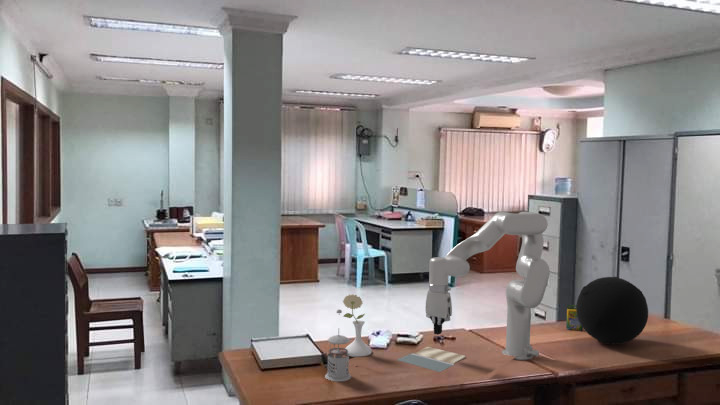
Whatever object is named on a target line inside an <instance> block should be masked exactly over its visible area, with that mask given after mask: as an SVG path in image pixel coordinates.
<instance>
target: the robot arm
mask: <svg viewBox="0 0 720 405" xmlns="http://www.w3.org/2000/svg"><path fill="white" fill-rule="evenodd" d="M548 225H549V223H548V219H547V218H546V216H545V215H543V214H541V213H538V212H531V211H521V212H519V213H518V212H517V213H514V212H513V213H511V212H506V211H498V212H496V213H494V215H493V216H491V217H490V218H489V219H488V220H487V221H486V222H485V223H484V224H483V225H482V226H481V227H480V228H479V229H478V230H477V231H476V232H475V233H473V235H471V236H469V237H467V238H466V239H465V240H463V241H460V243H458V244H456V246H454V247H453V248H452V249H451V250H450V251H449V252H448V253H447V254H446V255H445V256H444V257H441V256H439V257H438V256H437V257H435V256H434V257H431V258H430V259H429V273H428V274H429V275H428V278H429V279H428V280H429V281H428V285H429V286H428V291H427V293H426V299H425V317H426V318H428V319H430V321H431V323H432V325H433V334H434V335H438V336H439V335H441V334H442V332H443V324H444V323H447V322H450V321H451V316H453V315H452V314H453V306H452V305H453V304H452V297H451V293H450V292H451V290H452V288H451V287H450V286H449V277H458V278H460V277H464V276H466V275H468V273H469V272H470V268H471V267H470V263H469V262H468V259H469V258H471V257H472V256H475V255H477V254H480V253H483V252H484V253H485V252H486V251H489V250H491V248H493V247H494V245H495V244H496V243H498V241H499V240H500V239H502V237H503V236H504V235H510V236H521V238H522V243H521V247H520V251H519V254H518V258H517V259H516V260H517V261H516V265H515V271H516V273H517V274H518V275H519V276H521V277H522V278H524V280H523V279H513V280H511V281H509V283H508V284H507V285H506V289H505V297H506V310H507V311H506V312H507V313H506V334H505V335H506V336H505V337H506V339H505V349H503V350H501V354H503V355H506V356H511V357H514V358H513V360H516V361H517V360H518V361H527V360H528V361H529V360H531V359H533V358H534V357H539V355H540V351H539V350H538V349H533V345H531V323H532V322H531V321H532V320H531V319H532V313H531V312H532V310H531V309H534V308H537V307H539V305H540V304H541V302H542V301H543V299H544V295H545V292H546V289H547V286H548V281H549V278H550V274H551V273H550V266H549V264H548V262H547V261H546V260H545V259H543V258H542V255H543V250H544V244H545V243H544V242H545V241H544V236H543V233H545V232H546V231H547V229H548Z"/></svg>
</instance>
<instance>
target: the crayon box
mask: <svg viewBox="0 0 720 405" xmlns="http://www.w3.org/2000/svg"><path fill="white" fill-rule="evenodd" d="M566 307H567V308H566V327H565V328H566V330H568V331H569V330H570V331H571V330H572V331H583V330H584V329H583V327H582V326H581V324H580V322H579V320H578V317H577V312H576V305H573V304H567V306H566Z"/></svg>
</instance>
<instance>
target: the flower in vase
mask: <svg viewBox="0 0 720 405" xmlns="http://www.w3.org/2000/svg"><path fill="white" fill-rule="evenodd" d="M342 302H343V305H344V307H346V308H347V309H351V313H352V314H351V313H349V312H346V313H345V314H344V315H343V316H342V317H343V318H347V319H351V318H352V317H353V318H354V319H355V320H353V321H352V324H353V326H354V329H355V338H354V340H353V341H352V342H351V343H348V345H347V346H346V347H345V349H347V350H348V352H347V353H348V354H349V357H352V358H357V357H367V356H369V355H372V352H373V350H372V348H371V347H370V346H369V345H368V344H366V342H364V340H362V329H363V326H364V324H365V321H363V320H359V319H362V318H363V317H364V316H365V315H366V313H362V314H359V315H358V316H357V317H356V316H355V315H354V310H355V309H356V310H357V309H360V308H361V307H362V306H363V300H362V298H361V297H360V296H358V295H357V294H352V293H351V294H348V295H346V296H345V297H344V298H343V300H342Z"/></svg>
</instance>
